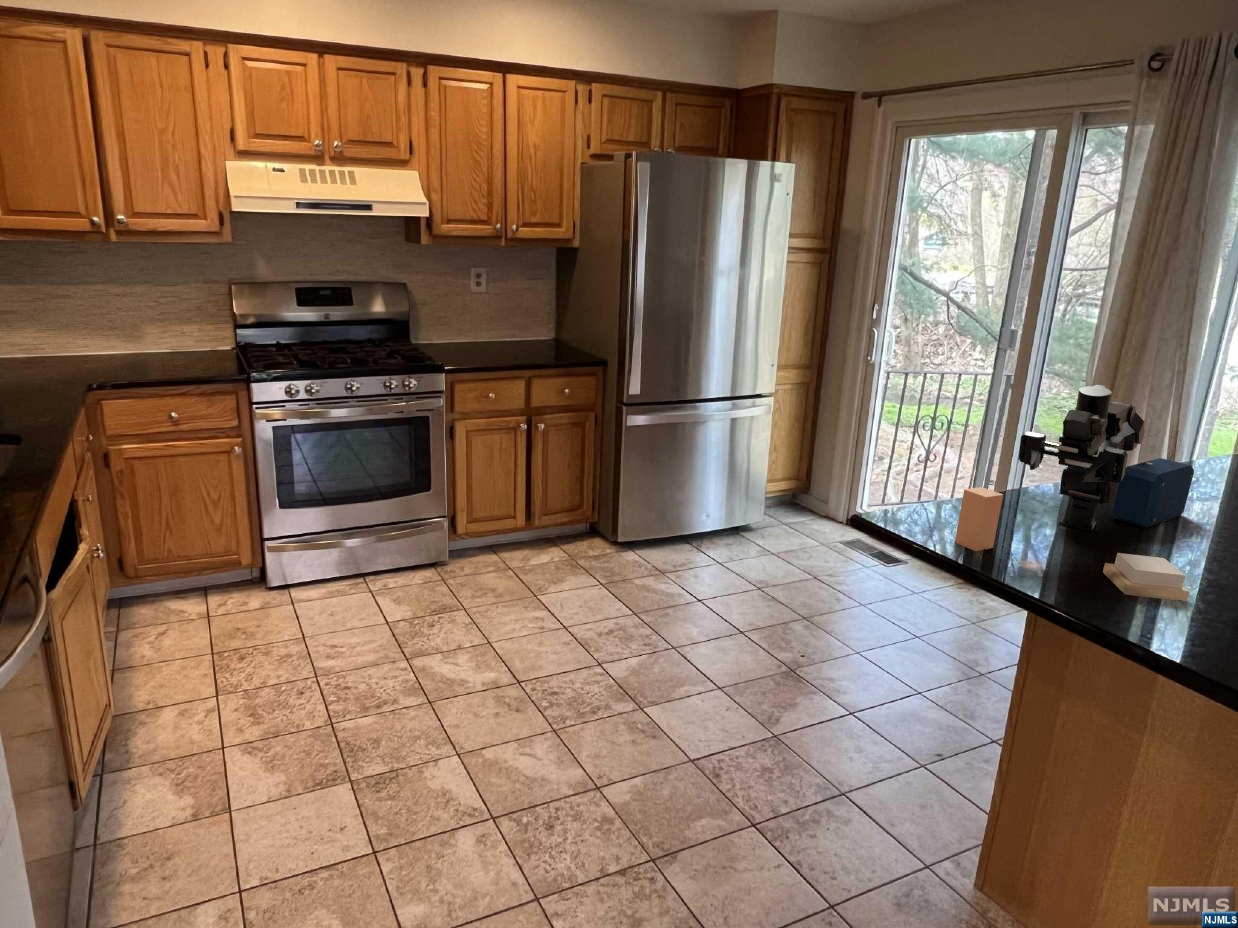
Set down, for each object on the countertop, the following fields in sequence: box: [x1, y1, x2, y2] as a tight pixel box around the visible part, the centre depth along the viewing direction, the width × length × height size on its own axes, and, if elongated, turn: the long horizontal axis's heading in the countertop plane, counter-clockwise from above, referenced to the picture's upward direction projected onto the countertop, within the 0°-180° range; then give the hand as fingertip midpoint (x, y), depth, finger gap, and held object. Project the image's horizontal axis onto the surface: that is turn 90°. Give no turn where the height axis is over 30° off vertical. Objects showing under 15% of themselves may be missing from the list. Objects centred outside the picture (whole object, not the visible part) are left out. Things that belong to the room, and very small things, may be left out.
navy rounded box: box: [1111, 429, 1195, 529], centre depth 188 cm, size 21×9×20 cm, turn 126°
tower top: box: [1114, 552, 1186, 589], centre depth 150 cm, size 8×8×2 cm
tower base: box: [1102, 562, 1190, 602], centre depth 151 cm, size 10×10×2 cm
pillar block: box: [954, 486, 1004, 552], centre depth 165 cm, size 5×5×11 cm
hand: (1056, 473), depth 160 cm, fingers open, 9 cm apart
